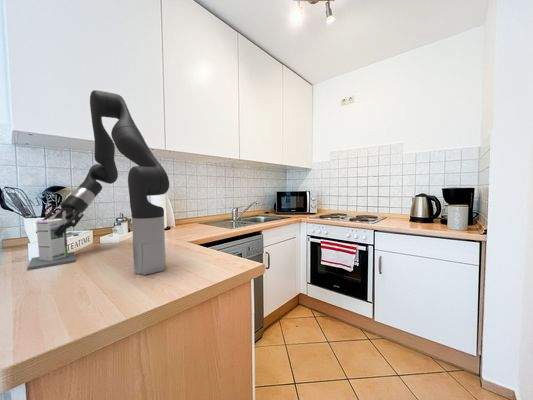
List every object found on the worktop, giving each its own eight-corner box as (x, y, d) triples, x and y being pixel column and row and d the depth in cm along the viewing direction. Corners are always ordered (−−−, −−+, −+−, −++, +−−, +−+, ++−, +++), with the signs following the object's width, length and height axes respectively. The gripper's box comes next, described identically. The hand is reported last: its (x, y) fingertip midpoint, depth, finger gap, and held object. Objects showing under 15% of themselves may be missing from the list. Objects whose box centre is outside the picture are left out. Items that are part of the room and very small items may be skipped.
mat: (75, 262, 82) (75, 259, 82) (27, 270, 74) (27, 267, 74) (74, 254, 93) (74, 251, 93) (32, 260, 85) (32, 257, 85)
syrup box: (51, 261, 81) (48, 220, 80) (38, 260, 82) (35, 220, 81) (68, 256, 86) (66, 218, 85) (55, 255, 87) (53, 218, 87)
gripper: (57, 194, 91) (23, 228, 81) (85, 194, 88) (53, 229, 77) (72, 206, 97) (42, 239, 86) (99, 207, 93) (71, 241, 83)
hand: (47, 234), depth 82 cm, fingers open, 8 cm apart
